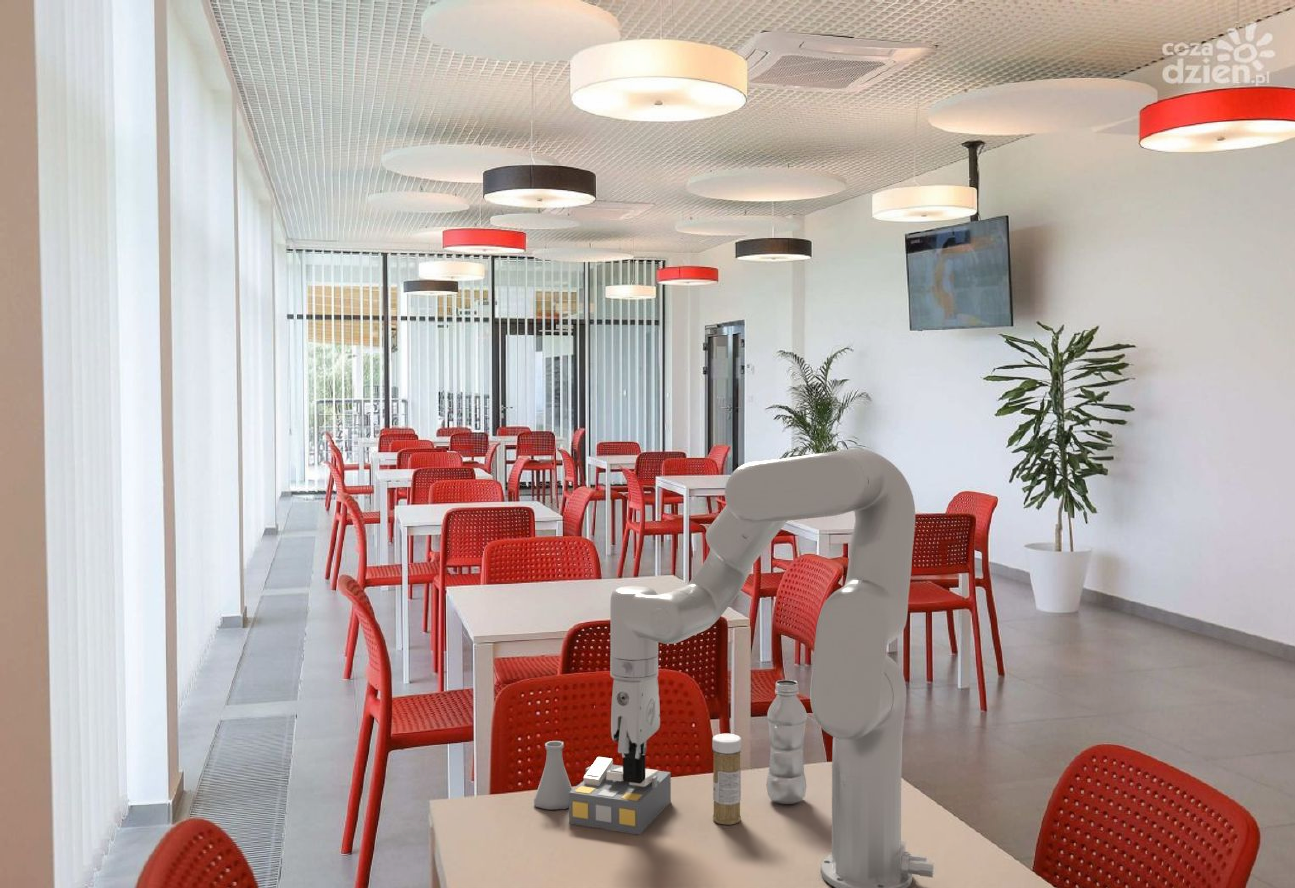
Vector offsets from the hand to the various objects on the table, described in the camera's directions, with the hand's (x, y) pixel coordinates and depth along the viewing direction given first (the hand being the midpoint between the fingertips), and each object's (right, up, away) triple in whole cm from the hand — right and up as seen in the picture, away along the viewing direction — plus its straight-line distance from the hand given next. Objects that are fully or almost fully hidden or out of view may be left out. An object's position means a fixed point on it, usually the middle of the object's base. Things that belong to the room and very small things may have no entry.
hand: (634, 780), depth 165 cm
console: (-2, -7, +5) cm, 8 cm away
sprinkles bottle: (+15, -7, +1) cm, 16 cm away
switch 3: (+2, -1, +3) cm, 3 cm away
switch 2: (-2, 0, +5) cm, 5 cm away
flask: (-13, -7, +9) cm, 18 cm away
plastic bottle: (+25, -7, +9) cm, 28 cm away
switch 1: (-6, 0, +6) cm, 8 cm away
